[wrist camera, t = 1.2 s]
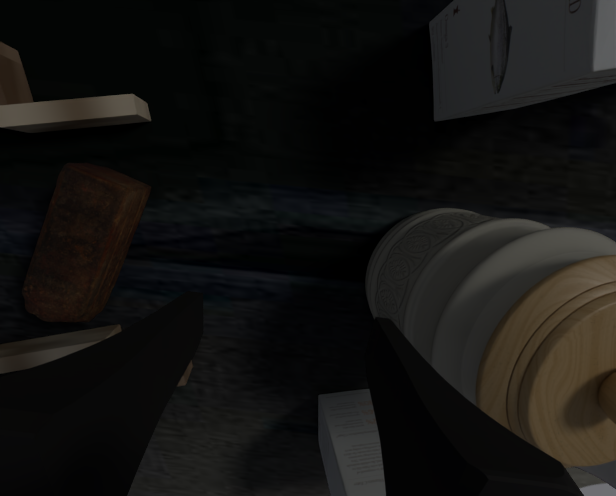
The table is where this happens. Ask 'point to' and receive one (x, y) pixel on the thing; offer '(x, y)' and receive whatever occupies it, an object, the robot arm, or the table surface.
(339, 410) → the small box
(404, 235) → the jar
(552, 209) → the table surface
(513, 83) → the supplement box
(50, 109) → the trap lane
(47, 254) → the brick
